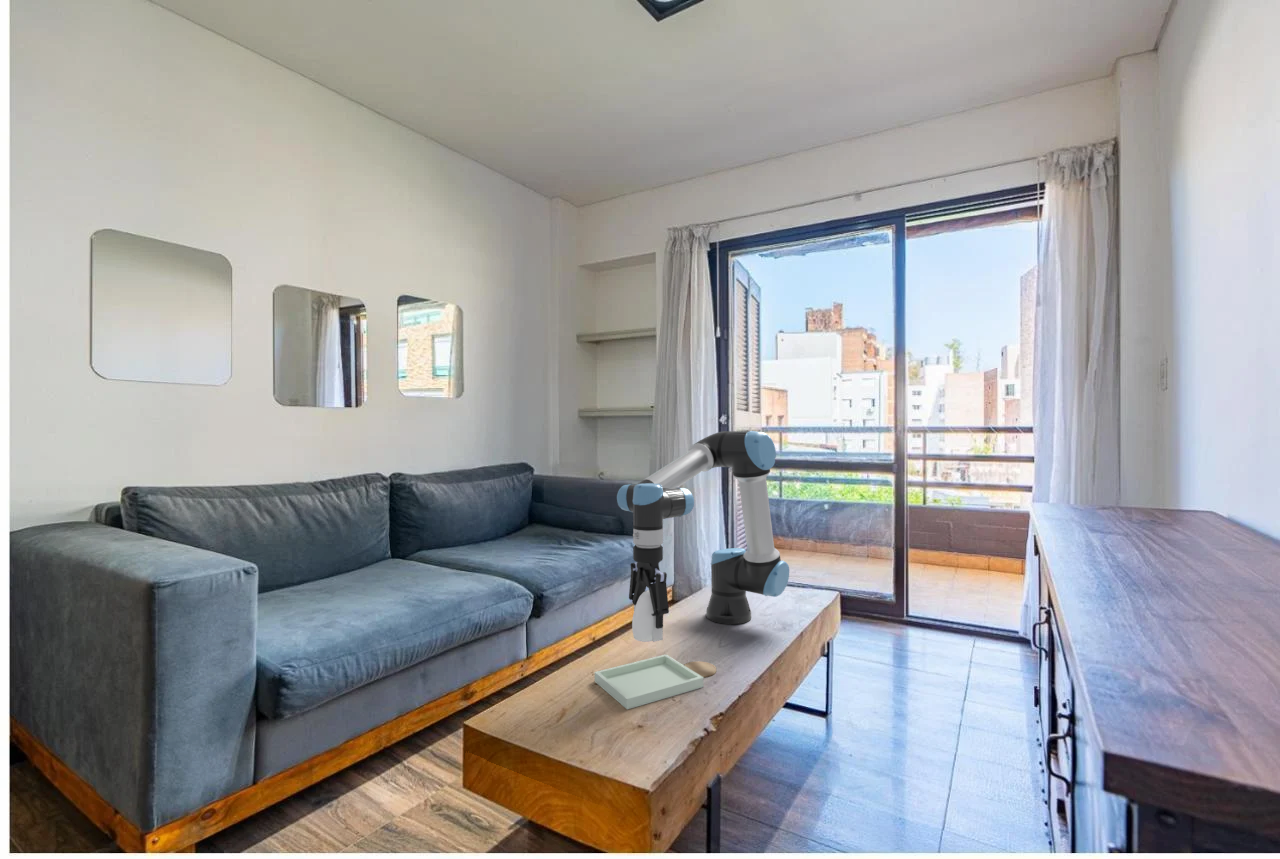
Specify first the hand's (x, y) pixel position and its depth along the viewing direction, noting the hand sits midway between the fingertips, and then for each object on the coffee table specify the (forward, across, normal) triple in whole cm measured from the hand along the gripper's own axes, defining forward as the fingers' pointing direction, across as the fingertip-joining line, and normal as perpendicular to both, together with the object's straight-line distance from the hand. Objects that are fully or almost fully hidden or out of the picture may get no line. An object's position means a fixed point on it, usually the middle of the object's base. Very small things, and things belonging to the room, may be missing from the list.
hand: (648, 634), depth 144 cm
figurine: (+1, 0, 0) cm, 1 cm away
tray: (+13, 0, 0) cm, 13 cm away
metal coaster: (+13, 0, +16) cm, 20 cm away
